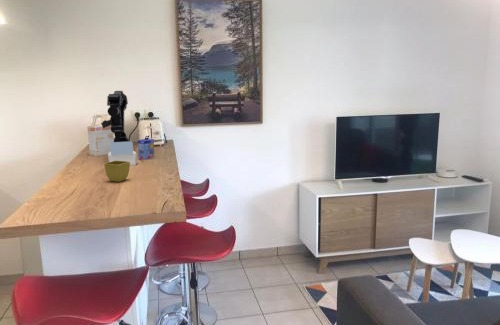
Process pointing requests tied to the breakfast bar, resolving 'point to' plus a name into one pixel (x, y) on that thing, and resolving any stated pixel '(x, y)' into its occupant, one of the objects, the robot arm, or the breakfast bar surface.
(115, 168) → the flower pot
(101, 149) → the coffeecake box
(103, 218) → the breakfast bar surface
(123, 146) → the flap
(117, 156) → the carton
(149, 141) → the ink cartridge box
